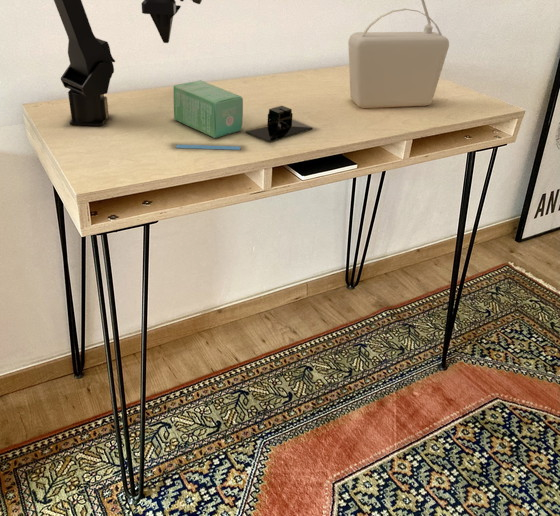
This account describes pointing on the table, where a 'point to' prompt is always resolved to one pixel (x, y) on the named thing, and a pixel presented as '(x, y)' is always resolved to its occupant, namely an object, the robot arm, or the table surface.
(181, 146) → the tape line
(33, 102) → the table surface
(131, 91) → the table surface
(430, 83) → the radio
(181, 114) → the box
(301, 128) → the black stand
